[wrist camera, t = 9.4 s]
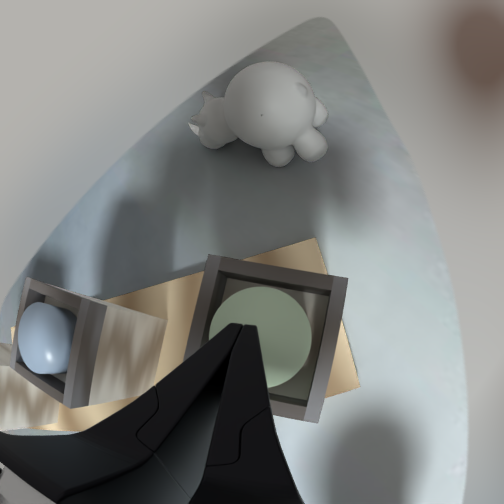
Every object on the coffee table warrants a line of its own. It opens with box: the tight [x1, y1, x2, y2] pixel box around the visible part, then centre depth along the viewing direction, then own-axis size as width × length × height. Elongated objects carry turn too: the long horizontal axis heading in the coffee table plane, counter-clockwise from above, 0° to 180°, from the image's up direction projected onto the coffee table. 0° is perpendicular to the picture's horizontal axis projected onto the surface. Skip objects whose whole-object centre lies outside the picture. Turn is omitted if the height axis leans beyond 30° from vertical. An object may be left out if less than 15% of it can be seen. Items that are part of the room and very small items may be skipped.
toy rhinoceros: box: [189, 62, 328, 167], centre depth 24 cm, size 7×12×8 cm, turn 78°
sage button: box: [209, 287, 311, 388], centre depth 13 cm, size 4×4×2 cm
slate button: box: [18, 302, 77, 374], centre depth 14 cm, size 4×4×2 cm
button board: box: [0, 238, 360, 431], centre depth 18 cm, size 11×33×11 cm, turn 104°
